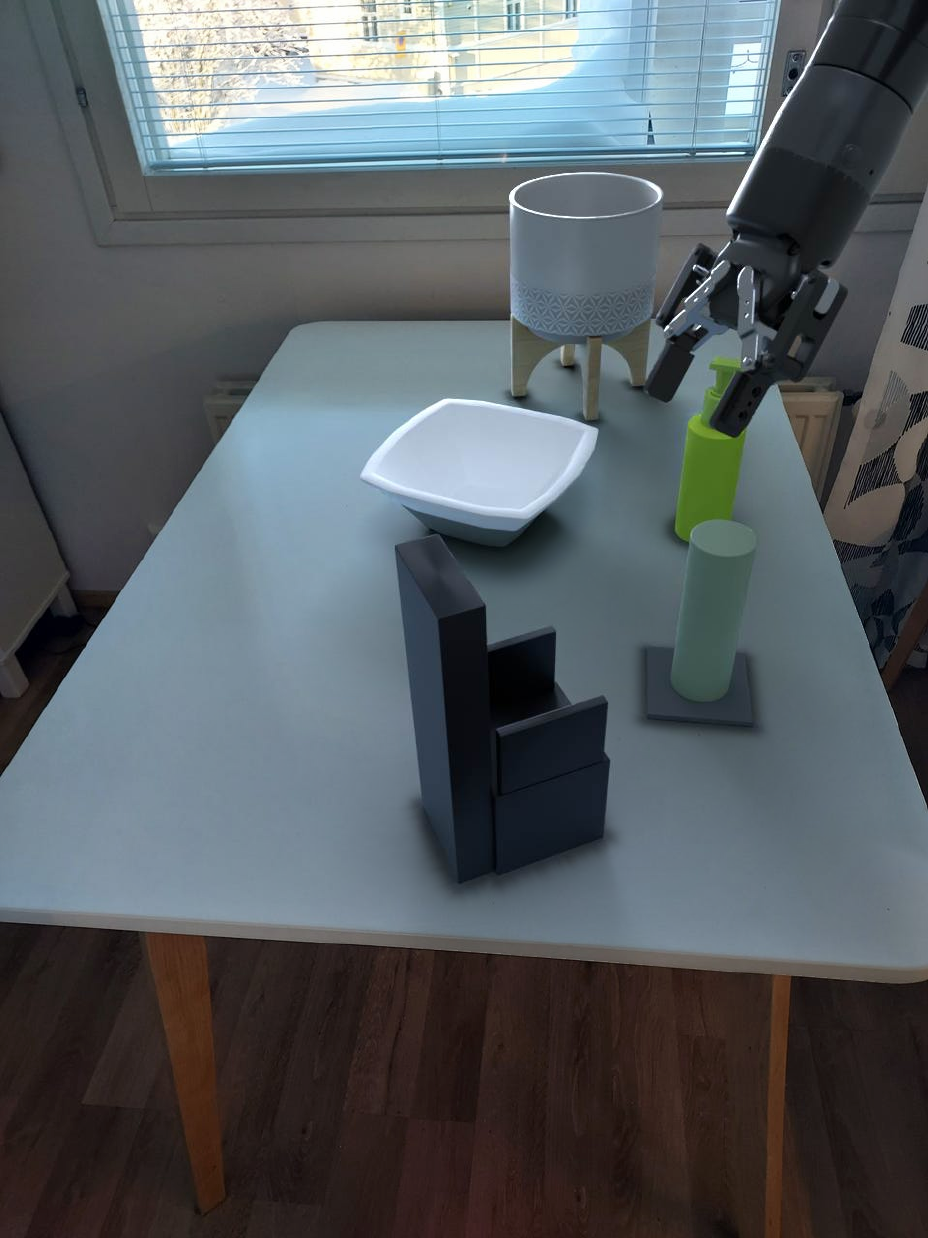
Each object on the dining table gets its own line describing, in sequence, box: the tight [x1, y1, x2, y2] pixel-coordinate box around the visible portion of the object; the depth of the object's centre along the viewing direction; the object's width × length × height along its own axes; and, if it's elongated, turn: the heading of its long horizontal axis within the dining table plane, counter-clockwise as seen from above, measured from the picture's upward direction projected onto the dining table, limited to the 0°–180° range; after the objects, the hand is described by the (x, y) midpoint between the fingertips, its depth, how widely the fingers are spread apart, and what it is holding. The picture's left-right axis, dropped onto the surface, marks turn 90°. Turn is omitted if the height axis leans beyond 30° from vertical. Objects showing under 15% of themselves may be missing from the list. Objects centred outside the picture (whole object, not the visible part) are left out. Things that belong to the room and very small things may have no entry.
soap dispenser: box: [674, 356, 748, 544], centre depth 97 cm, size 6×7×20 cm
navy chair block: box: [394, 533, 611, 884], centre depth 66 cm, size 12×9×26 cm
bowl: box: [359, 398, 600, 548], centre depth 105 cm, size 22×23×8 cm
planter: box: [509, 172, 665, 421], centre depth 123 cm, size 19×19×26 cm
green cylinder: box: [670, 520, 759, 702], centre depth 79 cm, size 5×5×16 cm
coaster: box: [646, 646, 754, 727], centre depth 84 cm, size 9×9×1 cm
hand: (686, 414), depth 62 cm, fingers open, 8 cm apart
